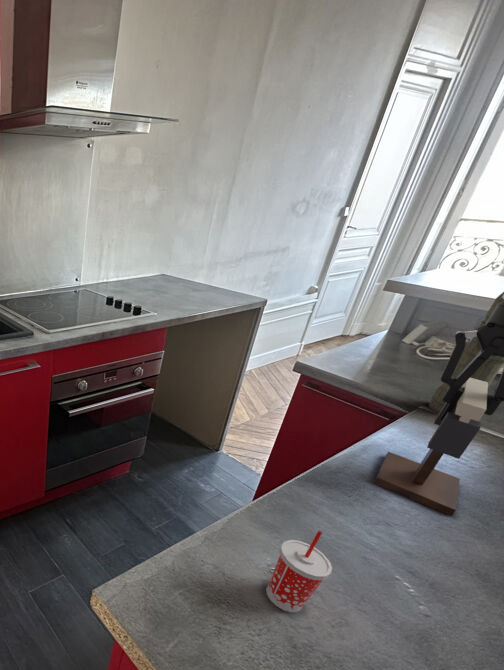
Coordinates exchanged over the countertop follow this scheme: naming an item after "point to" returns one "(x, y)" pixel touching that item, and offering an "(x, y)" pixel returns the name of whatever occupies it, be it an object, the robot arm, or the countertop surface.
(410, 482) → the headphone stand
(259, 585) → the countertop surface
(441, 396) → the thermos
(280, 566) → the beverage cup
